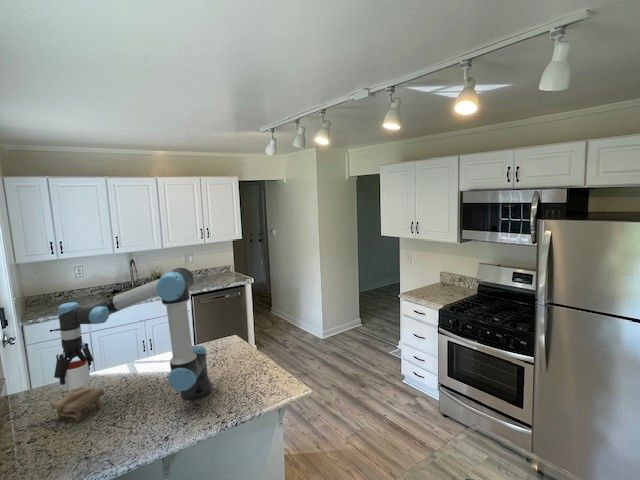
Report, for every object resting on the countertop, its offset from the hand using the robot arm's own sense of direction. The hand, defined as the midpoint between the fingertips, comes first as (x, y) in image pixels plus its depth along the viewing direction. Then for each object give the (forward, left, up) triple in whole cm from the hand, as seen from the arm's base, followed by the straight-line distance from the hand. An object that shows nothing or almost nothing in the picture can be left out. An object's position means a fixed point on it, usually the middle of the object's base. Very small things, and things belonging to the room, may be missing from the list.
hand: (76, 384), depth 160 cm
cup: (0, 0, -1) cm, 1 cm away
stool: (0, 0, -14) cm, 14 cm away
